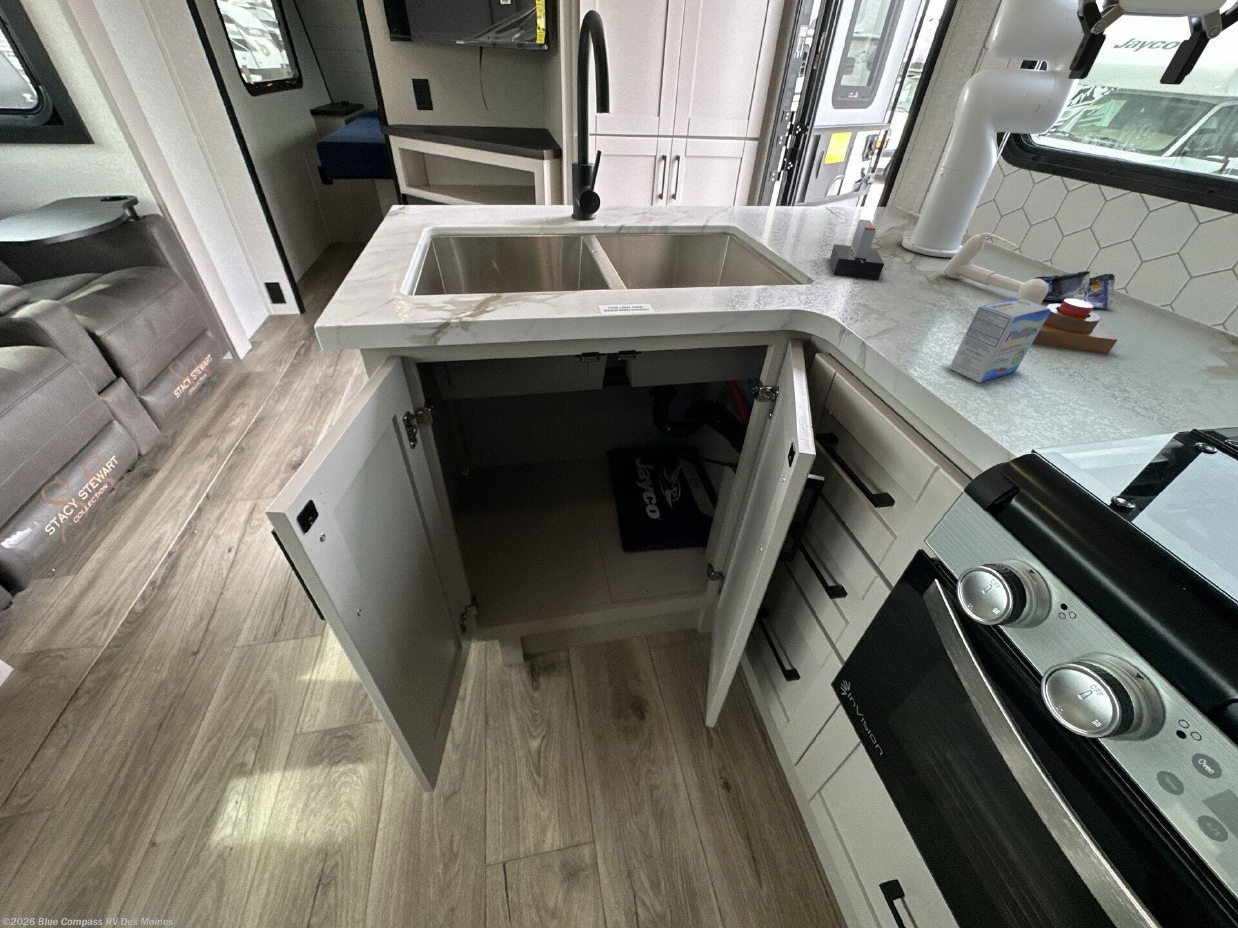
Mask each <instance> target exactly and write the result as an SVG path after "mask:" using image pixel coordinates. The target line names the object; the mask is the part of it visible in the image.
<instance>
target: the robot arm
mask: <svg viewBox="0 0 1238 928" xmlns="http://www.w3.org/2000/svg"><path fill="white" fill-rule="evenodd" d="M1227 1H1228V0H1001V3H1000V5H999V8H998V11H997V14H996V17H995V20H994V23H993V26H992V29H991V32H990V37H989V41H988V52H989V54H990V55H991V56H992V57H996V58H998V59H1006V60H1016V61H1035V62H1046V70H1043V69H1028V68H1015V67H992V68H986V69H983V70H980V71H977V73H975V74H973V75H972V76H971V77H969V79H968V80H967V81H966V83H965V84H964V85H963V87H962V90H961V92H960V94H959V98H958V101H957V106H956V109H955V113H954V118H953V123H952V127H951V130H950V133H949V136H948V140H947V143H946V146H945V148H944V151H943V154H942V157H941V160H940V162H939V164H938V168H937V170H936V173H935V175H934V178H933V181H932V183H931V186H930V188H929V191H928V193H927V197H926V200H925V202H924V205H923V207H922V210H921V212H920V215H919V218H918V220H917V223H916V226H915V228H914V231H913V233H912V236H906V237H904V238H903V239H902V241H901V245H902V247H903V248H904V249H906V250H909V251H911V252H914V253H917V254H921V255H926V256H931V257H937V258H950V259H952V258H953V257H954V256H955V255H956V254H957V253H958V252H959V250H960V249H961V248H962V247H963V246H964V245H962V244H961V243H962V240H963V238H964V237H965V233H966V231H967V229H968V226H969V225H970V223H971V220H972V218H973V216H974V213H975V211H976V209H977V207H978V204H979V202H980V200H981V197H982V195H983V192H984V190H985V188H986V186H987V184H988V181H989V179H990V177H991V175H992V172H993V169H994V167H995V166H996V163H997V157H998V155H997V147H996V143H995V141H994V137H993V134H994V133H1011V134H1023V135H1024V134H1025V135H1026V134H1028V135H1037V134H1042V133H1043V134H1044V133H1045V132H1047V131H1049V130H1050V129H1052V128H1053V127H1054V126H1055V125H1056V124H1057V123H1058V122H1059V120H1060V119H1061V117H1062V116H1063V114H1064V112H1065V110H1066V108H1067V107H1068V104H1069V103H1070V100H1071V98H1072V95H1073V93H1074V92H1075V89H1076V86H1077V85H1078V82H1079V80H1084V79H1086V78H1087V77H1089V74H1090V72H1091V70H1092V68H1093V66H1094V64H1095V62H1096V60H1097V58H1098V56H1099V54H1100V52H1101V50H1102V48H1103V45H1104V43H1105V42H1106V38H1107V34H1105V31H1106V29H1107V28H1109V27H1110V26H1111V25H1113V24H1114V23H1115V22H1117V20H1119V19H1120V18H1121V17H1125V16H1126V17H1148V18H1185V17H1187V21H1188V27H1189V32H1190V36H1189V37H1188V39H1184V40H1182V42H1181V43H1180V44H1179V46H1178V47H1177V49H1176V51H1175V52H1174V54H1173V56H1172V58H1171V60H1170V62H1169V63H1168V65H1167V67H1166V69H1165V70H1164V72H1163V74H1162V76H1161V77H1160V79H1159V83H1160V85H1174V86H1175V85H1177V86H1178V85H1181V84H1182V83H1183V82H1184V80H1185V78H1186V77H1187V76H1189V75H1190V74H1191V73H1192V71H1193V69H1194V68H1195V66H1196V65H1197V63H1198V61H1199V59H1200V57H1201V56H1202V54H1203V52H1204V51H1205V49H1206V48H1207V46H1208V44H1209V42H1210V41H1211V40H1213V39H1216V38H1217V37H1218V36H1219V35H1221V33H1222V32H1223V31H1225V30H1227V29H1228V28H1230V27H1231V26H1233V25H1234V24H1236V23H1237V22H1238V0H1236V1H1235V2H1234V3H1233V4H1232V6H1231V7H1229V8H1228V9H1226V10H1224V11H1223V12H1222V13H1221V10H1220V9H1221V8H1222V7H1224V5H1225V4H1226V3H1227Z"/></svg>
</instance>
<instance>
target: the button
mask: <svg viewBox="0 0 1238 928" xmlns="http://www.w3.org/2000/svg"><path fill="white" fill-rule="evenodd" d="M1060 304H1061V306H1060V307H1059V309H1058V311H1059V312H1061V313H1063V314H1066V315H1069V316H1073V317H1079V318H1087V317H1088V315H1089V314H1090V312H1093V311H1092V310H1093V309H1094V306H1093V305H1092V304H1090V303H1088V302H1085V301H1082V300H1078V299H1064V301H1062V302H1061V303H1060Z"/></svg>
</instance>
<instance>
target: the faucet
mask: <svg viewBox="0 0 1238 928" xmlns="http://www.w3.org/2000/svg"><path fill="white" fill-rule="evenodd" d="M986 238H990V239H995V240H997V241H1002V242H1004V243H1006V244H1009V245H1011V246H1013V247H1015V248H1019V245H1017V244H1015V243H1013V242H1011V241H1009V240H1007V239H1006V238H1003V237H1001V236H999V235H996V234H993V233H992V232H991V233H990V232H983V233H981V234H980V233H979V234H974V235H972V237H970V238H968V239H967V241H966V242H964V244H963V245H962V246H963V247H962V248H961V249H960V250H959V252H958V253H957V254H956V255H955V256H954V257H952V258H950V260H949V261H948V262H947V264H946V265H945V266H944V267H943V269H942V270H943V273H944V274H945V275H946V276H947V277H948V278H949V277H950V278H952V279H959V278H961V277H962V278H966V279H968V280H971V281H974V282H977V283H979V284H982V285H985V286H992V287H996V288H999V289H1003V290H1007V291H1010V292H1014V293H1017V294H1016V297H1015V299H1016V298H1019V299H1024V300H1027V301H1031V302H1034V303H1037V304H1039V305H1042V302H1043V301H1044V300H1045V299H1044V298H1045V297H1046V295H1047V293H1048V285H1047V283H1046V282H1045V281H1043V280H1042V279H1040V278H1039V279H1035V278H1032V279H1029V280H1026V281H1025V282H1023V281H1020V280H1016V279H1014V278H1011V277H1007V276H1005V275H1002V274H998V272H997V271H994V270H990V269H988V268H985V267H981V266H978V265H975V264H972V262H973V261H974V259H975V258H976V257H977V256H978V255H979V254H980V252H981V251H983V249H984V248H985V245H986V242H987V240H986Z"/></svg>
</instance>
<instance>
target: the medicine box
mask: <svg viewBox="0 0 1238 928" xmlns="http://www.w3.org/2000/svg"><path fill="white" fill-rule="evenodd" d="M1050 312H1051V310H1050V309H1049V308H1047V306H1044V305H1042V304H1040V305H1039V304H1037V303H1034V302H1031V301H1027V300H1024V299H1019V298H1016V297H1015V298H1013V299H1007V300H1003V301H999V302H993V303H988V304H984V305H979V306H977V309H976V311H975V313H974V315H973V318H971V322H970V323H969V326H968V327H967V330H966V331H965V334H964V336H963V338H962V340H961V342H960V344H959V346H958V348H957V351H956V353H955V354H954V357H953V358H952V361H951V363H950V365H949V367H948V368H949V369H950V370H952V371H953V372H955V373H957V374H959V375H961V376H963V377H965V378H968V379H970V380H972V381H973V382H976V383H978V384H981V383H984V382H989V381H991V380H993V379H997V378H1000V377H1003V376H1005V375H1006V376H1007V375H1009V374H1013V373H1016V372H1017V370H1018V368H1019V367H1020V365H1021V363H1022V362H1023V360H1024V358H1025V356H1026V355H1027V353H1028V351H1029V349H1030V348H1031V346H1032V345H1033V344H1032V343H1033V341H1034V339H1035V337H1036V336H1037V334H1038V332H1039V331H1040V329H1041V327H1042V325H1043V324H1044V322H1045V320H1046V319H1047V317H1048V315H1049V313H1050Z"/></svg>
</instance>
